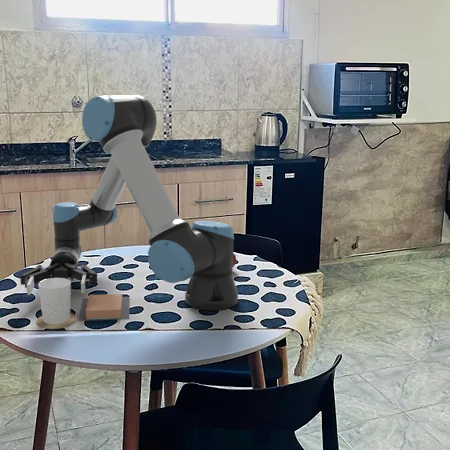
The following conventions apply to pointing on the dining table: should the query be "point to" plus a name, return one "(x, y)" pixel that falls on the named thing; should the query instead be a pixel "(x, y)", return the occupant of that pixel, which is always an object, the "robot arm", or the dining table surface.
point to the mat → (123, 316)
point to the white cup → (55, 300)
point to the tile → (104, 306)
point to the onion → (234, 259)
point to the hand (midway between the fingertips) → (55, 289)
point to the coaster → (50, 326)
